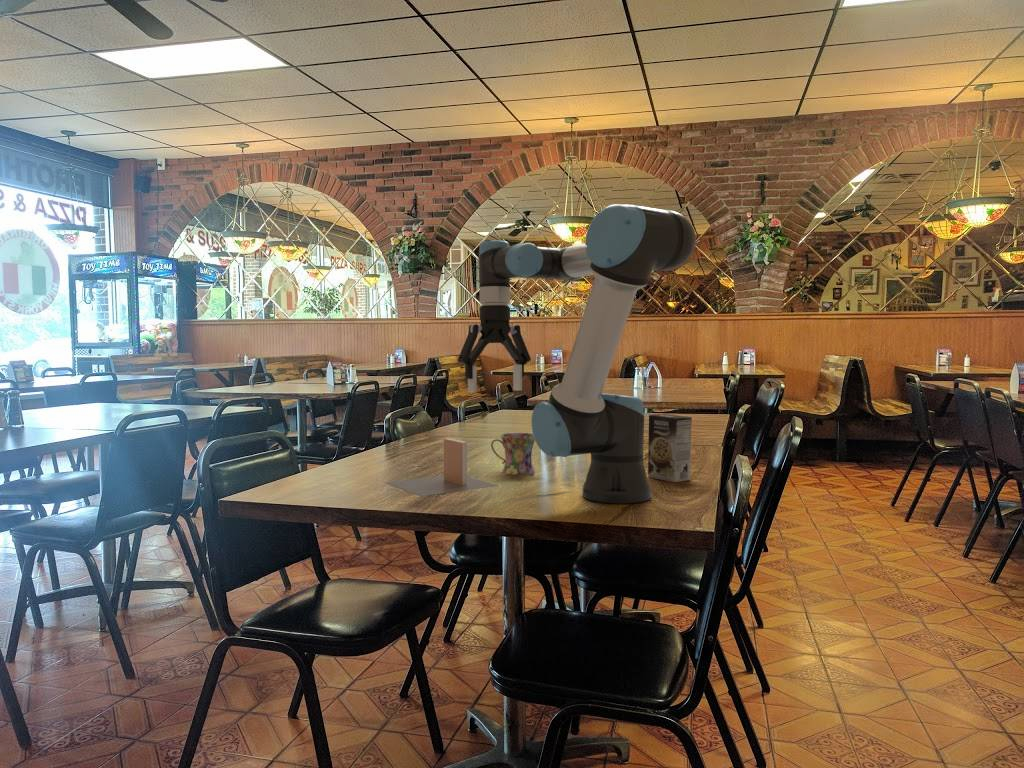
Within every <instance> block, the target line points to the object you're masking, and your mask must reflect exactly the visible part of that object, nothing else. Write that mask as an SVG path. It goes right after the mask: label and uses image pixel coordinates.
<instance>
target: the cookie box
mask: <svg viewBox="0 0 1024 768" xmlns="http://www.w3.org/2000/svg"><path fill="white" fill-rule="evenodd" d="M692 421H693V420H692V417H690V416H684V415H683V416H682V415H677V414H676V415H675V414H668V413H662V414H660V413H658V414H657V413H655V414H649V415H648V442H647V443H648V445H647V446H648V449H647V450H648V451H647V452H648V458H647V460H648V461H647V478H652V479H656V480H660V481H666V482H670V483H679V482H684V481H685V482H686V481H690V479H691V450H692V447H691V446H692Z"/></svg>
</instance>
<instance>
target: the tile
mask: <svg viewBox="0 0 1024 768" xmlns="http://www.w3.org/2000/svg"><path fill="white" fill-rule="evenodd" d="M443 475H444V480H446V481H449V482H452V483H456V484H459V485H467V477H468V442H467V441H463V440H459V439H455V438H450V437H448V438H443Z"/></svg>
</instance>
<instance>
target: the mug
mask: <svg viewBox="0 0 1024 768" xmlns="http://www.w3.org/2000/svg"><path fill="white" fill-rule="evenodd" d="M500 438H501V439H498V438H497V439H496V438H495V439H494V440H492V441H491V443H490V447H491V450H492V452H493V453H494V455H495V456H496V457H497V458H499V459H500V460H502V465H504V466H503V469H502V473H504V474H509V475H527V476H533V475H534V474H536V472H535V470H534V467H533V462H532V460H533V459H532V452H533V446H534V444H535V442H536V441H535V438H534V435H533V433H529V432H527V433H526V432H508V433H507V432H506V433H502V434H500ZM494 442H500V444H502V446H503V448H504V453H505V454H504V455H505V457H502V456H501V455H499V454H498V452H497V451H496V450H495V449H494Z"/></svg>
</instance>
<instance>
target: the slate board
mask: <svg viewBox="0 0 1024 768" xmlns="http://www.w3.org/2000/svg"><path fill="white" fill-rule="evenodd" d="M386 484H387V485H389V486H393V487H395V488H399V489H401V490H404V491H406V492H409V493H412V494H415V495H418V496H419V497H425V496H426V497H427V496H433V495H434V496H435V495H440V494H447V493H455V492H456V493H457V492H462V491H467V490H475V489H482V488H483V489H484V488H489V487H496V486H497V487H498V485H497V484H493V483H491V482H488V481H483V480H479V479H477V478H475V477H474V478H473V477H470V476H467V485H459V484H456V483H452V482H449V481H446V480H444V474H442V475H438V476H437V475H435V476H427V477H420V478H412V479H405V480H404V479H403V480H397V481H396V480H395V481H389V482H388V481H387V482H386Z"/></svg>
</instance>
